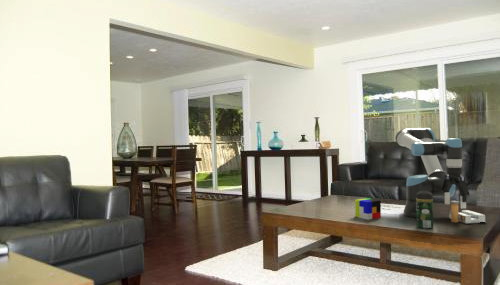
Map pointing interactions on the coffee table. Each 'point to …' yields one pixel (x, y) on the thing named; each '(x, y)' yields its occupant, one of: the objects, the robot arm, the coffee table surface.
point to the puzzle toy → (368, 208)
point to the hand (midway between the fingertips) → (455, 206)
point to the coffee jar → (424, 209)
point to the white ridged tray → (469, 217)
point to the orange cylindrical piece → (454, 211)
